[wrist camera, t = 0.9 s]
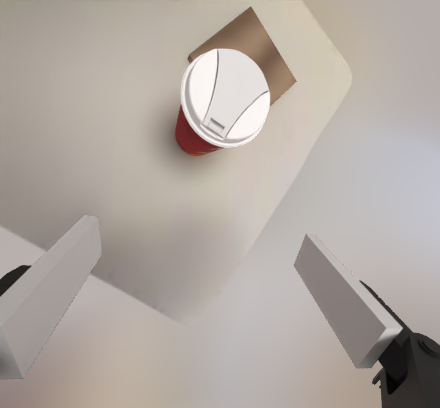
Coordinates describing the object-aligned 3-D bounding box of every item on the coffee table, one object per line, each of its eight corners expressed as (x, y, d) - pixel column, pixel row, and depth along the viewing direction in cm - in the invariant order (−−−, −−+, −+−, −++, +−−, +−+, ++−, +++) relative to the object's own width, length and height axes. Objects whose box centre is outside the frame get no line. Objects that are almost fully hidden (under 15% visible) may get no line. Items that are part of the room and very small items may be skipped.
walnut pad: (187, 59, 28) (189, 54, 27) (247, 12, 30) (250, 6, 29) (241, 131, 31) (244, 129, 30) (292, 84, 33) (296, 81, 33)
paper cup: (206, 172, 30) (250, 162, 17) (157, 144, 28) (163, 107, 14) (230, 126, 31) (290, 81, 18) (183, 94, 28) (213, 14, 15)
